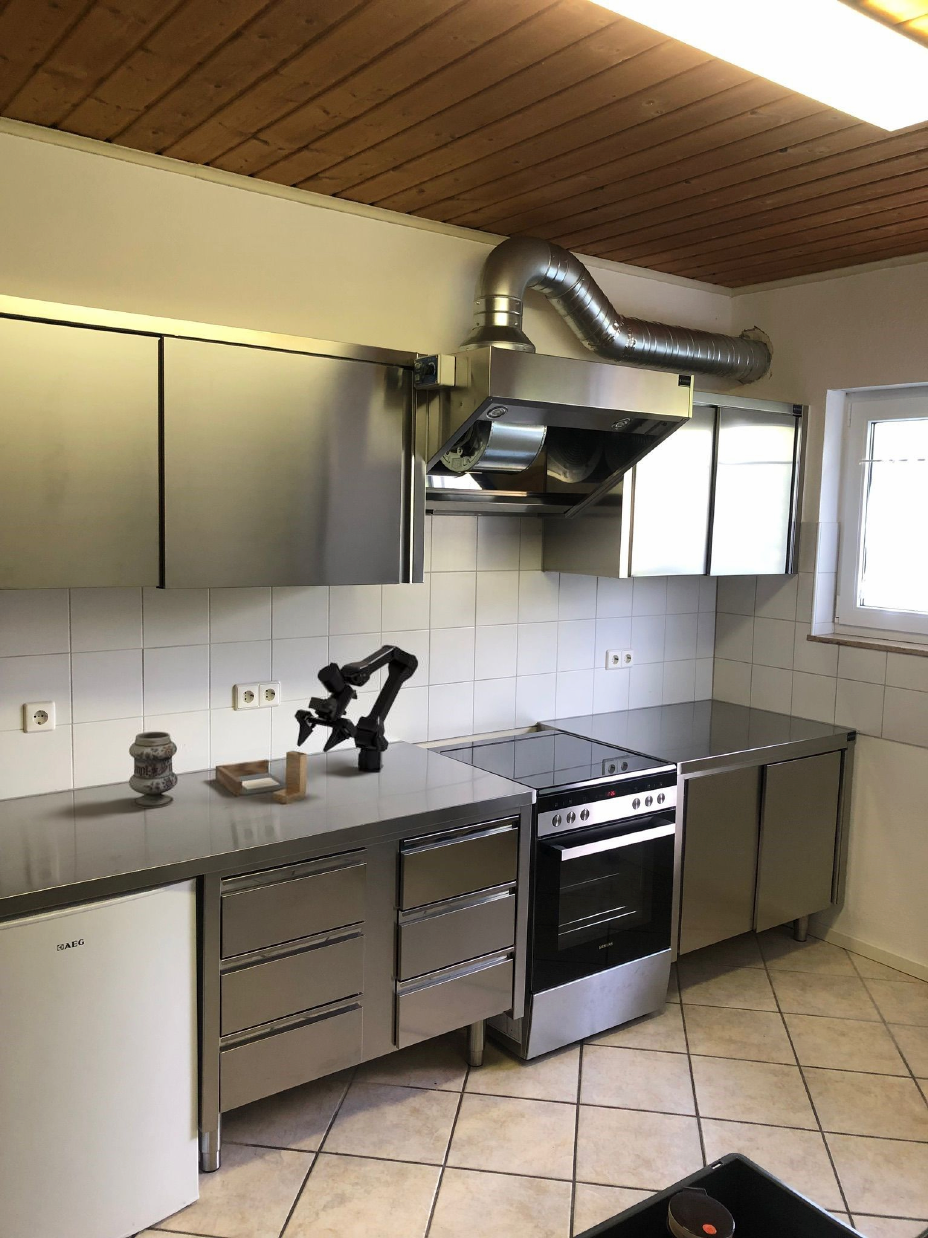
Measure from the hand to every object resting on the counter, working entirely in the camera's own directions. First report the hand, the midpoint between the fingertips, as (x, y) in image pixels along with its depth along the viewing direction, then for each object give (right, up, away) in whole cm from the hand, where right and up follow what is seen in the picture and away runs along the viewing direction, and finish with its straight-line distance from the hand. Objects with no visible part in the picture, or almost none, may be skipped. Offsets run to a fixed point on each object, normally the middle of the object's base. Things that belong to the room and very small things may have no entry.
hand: (310, 748), depth 263 cm
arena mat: (-16, -11, +5) cm, 20 cm away
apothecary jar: (-39, -12, -13) cm, 43 cm away
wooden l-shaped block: (-5, -13, -5) cm, 15 cm away
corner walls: (-17, -11, +6) cm, 21 cm away
